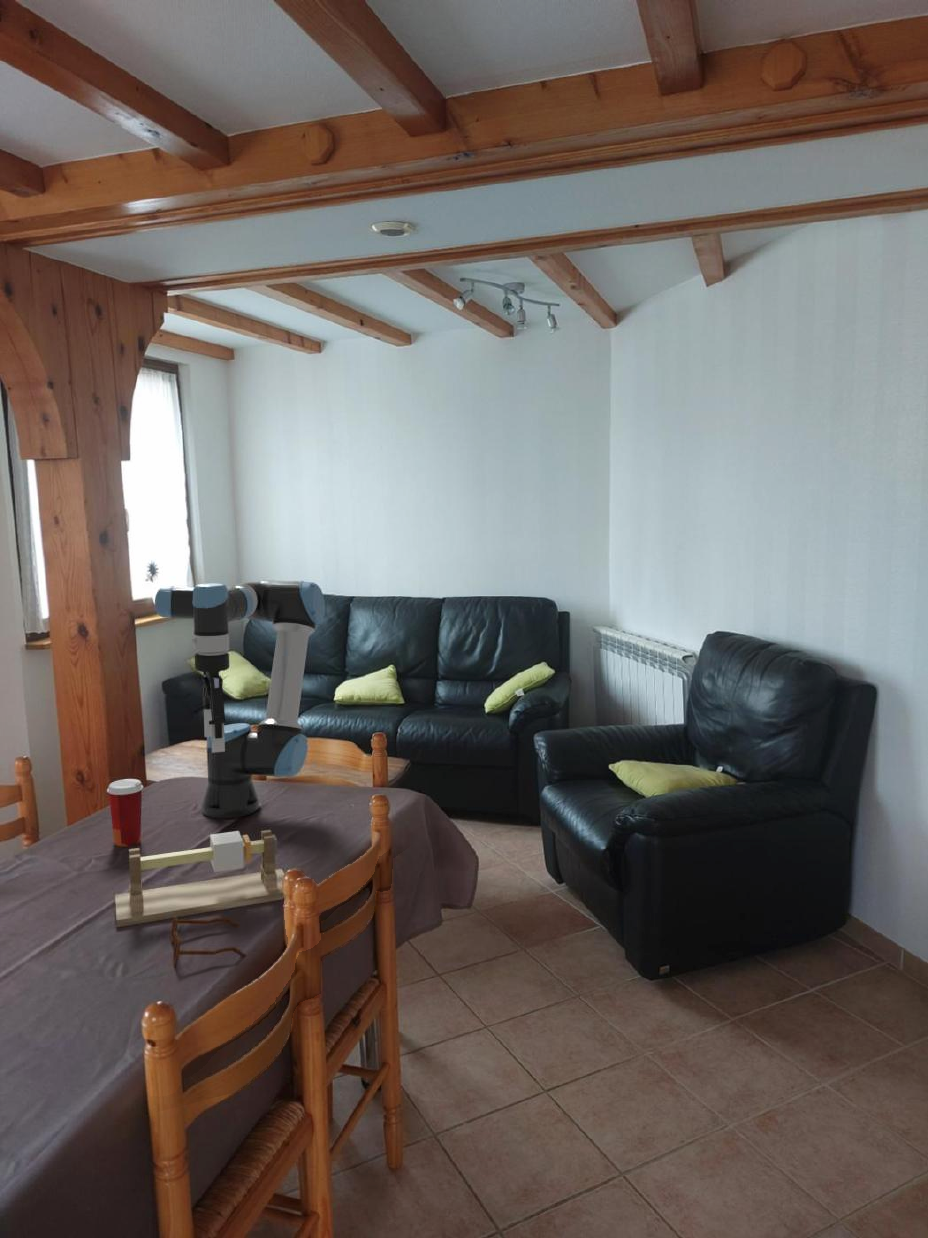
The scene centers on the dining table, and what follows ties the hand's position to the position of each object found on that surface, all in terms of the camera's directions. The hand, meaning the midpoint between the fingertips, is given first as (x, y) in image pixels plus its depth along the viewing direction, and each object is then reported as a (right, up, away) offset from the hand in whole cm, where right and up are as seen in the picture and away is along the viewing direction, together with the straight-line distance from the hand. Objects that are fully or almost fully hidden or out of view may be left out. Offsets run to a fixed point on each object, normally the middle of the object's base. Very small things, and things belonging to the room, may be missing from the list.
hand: (214, 743), depth 197 cm
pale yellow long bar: (+3, -23, -15) cm, 28 cm away
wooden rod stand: (+2, -31, -14) cm, 34 cm away
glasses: (+8, -34, -33) cm, 48 cm away
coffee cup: (-26, -27, +16) cm, 40 cm away
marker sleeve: (+7, -24, -13) cm, 28 cm away
